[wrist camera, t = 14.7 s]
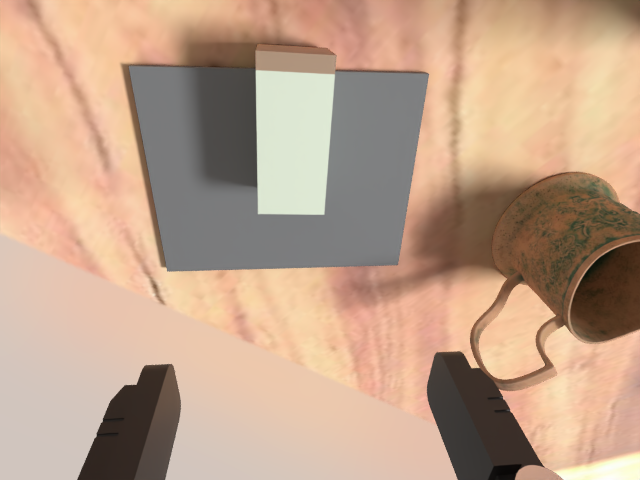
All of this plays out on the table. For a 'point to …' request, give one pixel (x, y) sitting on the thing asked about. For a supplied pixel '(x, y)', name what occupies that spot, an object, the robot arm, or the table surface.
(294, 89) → the block
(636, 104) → the table surface
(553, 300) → the mug
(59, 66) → the table surface
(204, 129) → the mat
